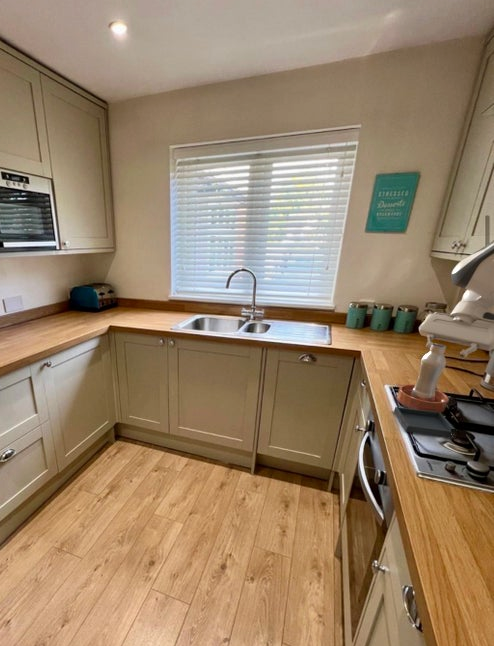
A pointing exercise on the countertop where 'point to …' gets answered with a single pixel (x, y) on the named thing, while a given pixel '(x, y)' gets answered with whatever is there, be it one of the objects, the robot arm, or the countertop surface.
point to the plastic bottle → (429, 373)
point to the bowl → (414, 403)
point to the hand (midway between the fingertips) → (444, 351)
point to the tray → (423, 422)
